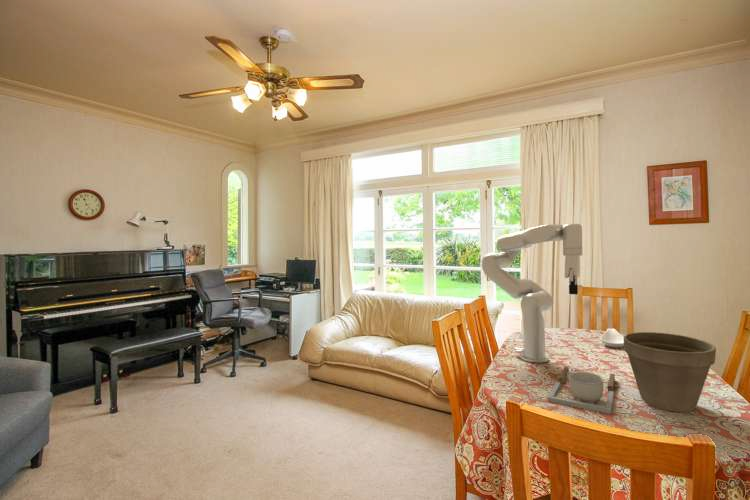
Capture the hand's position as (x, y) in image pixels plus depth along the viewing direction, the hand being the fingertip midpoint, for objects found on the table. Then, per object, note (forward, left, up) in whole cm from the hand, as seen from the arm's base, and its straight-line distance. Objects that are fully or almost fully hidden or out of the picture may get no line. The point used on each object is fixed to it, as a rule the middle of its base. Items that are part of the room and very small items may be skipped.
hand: (573, 293), depth 162 cm
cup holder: (+6, -14, -33) cm, 36 cm away
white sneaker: (+11, +54, -34) cm, 65 cm away
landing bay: (+6, -32, -33) cm, 46 cm away
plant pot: (+31, -22, -33) cm, 51 cm away
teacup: (+7, -30, -33) cm, 46 cm away
